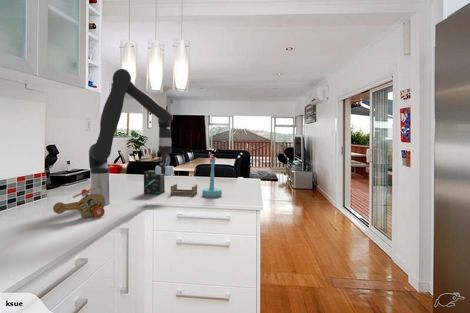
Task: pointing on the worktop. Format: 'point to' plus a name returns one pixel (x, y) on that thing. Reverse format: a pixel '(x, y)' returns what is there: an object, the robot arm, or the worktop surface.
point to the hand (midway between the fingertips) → (164, 173)
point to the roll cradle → (183, 191)
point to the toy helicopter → (84, 205)
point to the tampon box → (153, 183)
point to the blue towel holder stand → (212, 185)
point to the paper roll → (168, 170)
